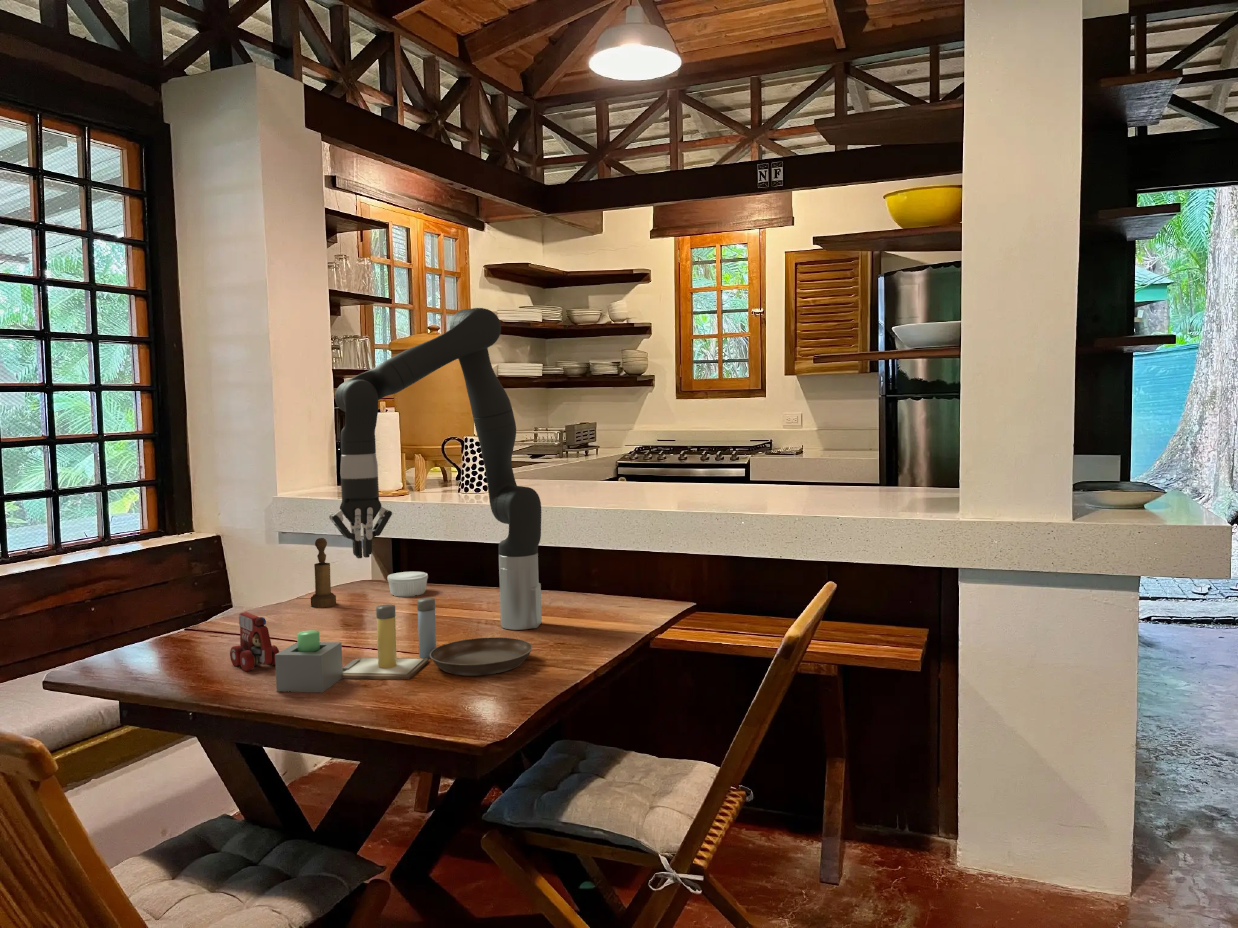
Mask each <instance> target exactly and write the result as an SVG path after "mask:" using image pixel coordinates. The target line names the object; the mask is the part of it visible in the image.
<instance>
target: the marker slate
mask: <svg viewBox="0 0 1238 928" xmlns="http://www.w3.org/2000/svg"><path fill="white" fill-rule="evenodd" d="M416 609H417V630H418V631H417V633H418V655H419V656H418V658H423V659H431V657H430V653H431V651H432V650H434V649H435V648H437V629H436V628H437V626H436V621H437V620H436V598H433V597H423V598H418V599H416Z"/></svg>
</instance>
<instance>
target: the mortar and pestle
mask: <svg viewBox="0 0 1238 928" xmlns="http://www.w3.org/2000/svg"><path fill="white" fill-rule="evenodd" d="M326 539H327V538H324V537H318V538H317V539H316V540H315V542H314V545H315V547H316V549H317V550H318V554H317V560H318V562H317V563H316V562H315V563H314V567H313V568H314V588H315V590H314V591H315V593H314V594H313V595H312V596H311V597H310V607H312V608H329V607H333V606H334V607H335V606H336V605H337V596H336V594H335V593H334V592H332V587H331V583H332V582H331V563H330V562H326V560H327V554H326V553H325V550H326V547H327V545H328V541H327V540H326Z"/></svg>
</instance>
